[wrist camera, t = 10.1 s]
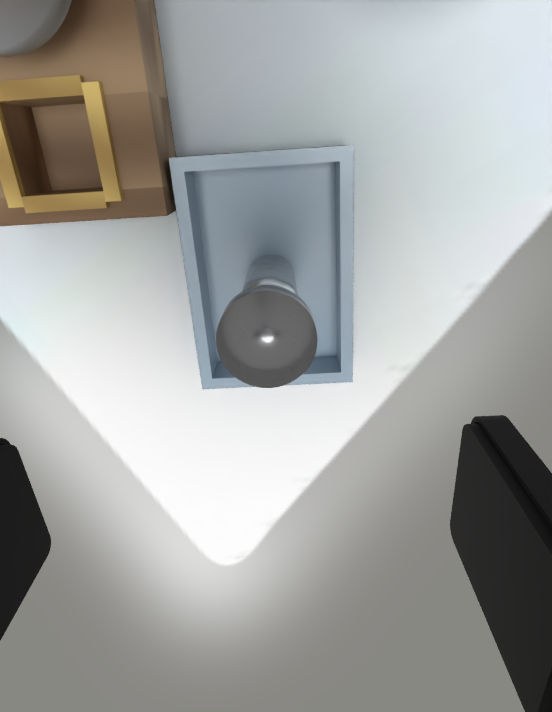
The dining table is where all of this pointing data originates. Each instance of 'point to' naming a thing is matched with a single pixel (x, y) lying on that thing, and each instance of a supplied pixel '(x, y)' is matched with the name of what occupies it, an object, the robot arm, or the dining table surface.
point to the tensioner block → (82, 112)
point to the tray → (269, 244)
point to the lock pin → (267, 327)
